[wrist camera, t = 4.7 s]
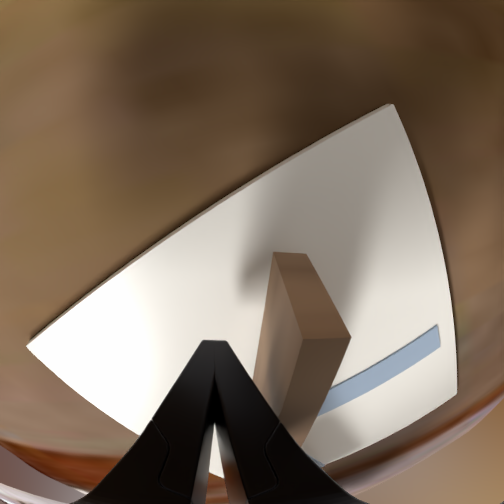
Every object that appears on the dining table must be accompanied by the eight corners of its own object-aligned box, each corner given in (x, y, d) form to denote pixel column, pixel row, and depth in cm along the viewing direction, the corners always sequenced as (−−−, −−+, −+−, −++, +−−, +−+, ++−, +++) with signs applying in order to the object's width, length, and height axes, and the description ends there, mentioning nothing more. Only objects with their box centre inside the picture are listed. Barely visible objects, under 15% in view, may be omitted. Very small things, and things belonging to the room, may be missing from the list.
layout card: (454, 390, 15) (457, 394, 15) (248, 483, 18) (249, 488, 18) (386, 104, 8) (394, 104, 7) (29, 340, 10) (25, 347, 10)
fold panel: (265, 423, 13) (275, 490, 9) (244, 424, 12) (251, 492, 9) (306, 253, 9) (351, 337, 5) (273, 251, 9) (303, 338, 5)
